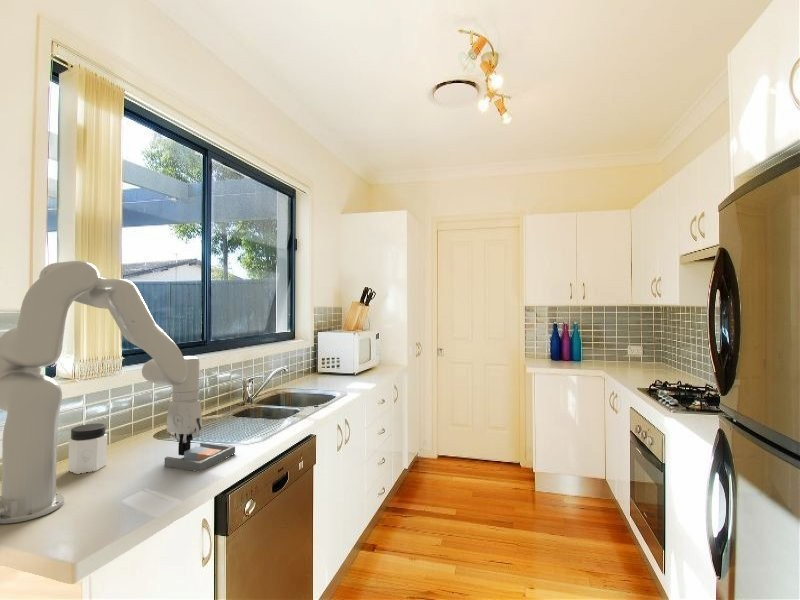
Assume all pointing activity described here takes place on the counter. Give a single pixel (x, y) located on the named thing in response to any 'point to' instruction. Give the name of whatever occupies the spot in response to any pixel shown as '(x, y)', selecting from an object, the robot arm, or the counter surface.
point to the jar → (87, 448)
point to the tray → (204, 463)
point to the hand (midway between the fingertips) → (184, 453)
